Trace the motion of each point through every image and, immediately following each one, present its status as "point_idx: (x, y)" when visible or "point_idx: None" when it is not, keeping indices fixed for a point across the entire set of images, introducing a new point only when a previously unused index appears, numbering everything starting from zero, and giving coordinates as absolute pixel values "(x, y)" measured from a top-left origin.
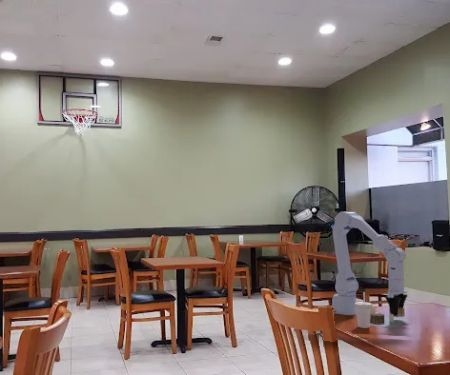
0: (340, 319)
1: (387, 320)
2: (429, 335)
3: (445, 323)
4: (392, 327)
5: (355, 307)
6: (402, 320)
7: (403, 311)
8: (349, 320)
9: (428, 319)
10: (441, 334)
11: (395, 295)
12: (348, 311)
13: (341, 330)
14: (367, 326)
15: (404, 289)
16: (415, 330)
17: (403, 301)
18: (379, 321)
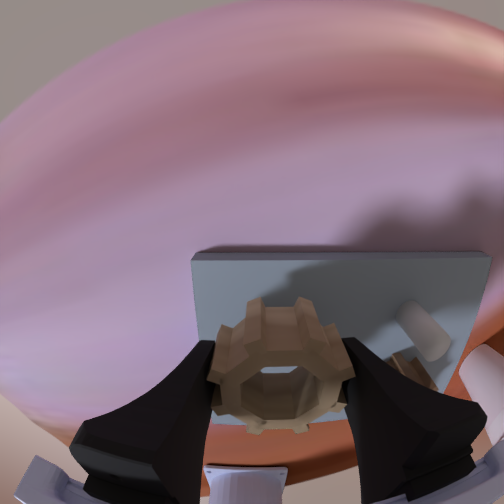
0: (320, 475)
1: None
2: (467, 73)
3: (73, 66)
4: (482, 272)
5: (243, 500)
6: (251, 297)
7: (264, 327)
8: (323, 461)
9: (28, 191)
10: (411, 15)
11: (423, 493)
12: (277, 494)
13: None
14: (498, 353)
15: (24, 491)
16: (416, 152)
17: (184, 410)
18: (422, 368)
